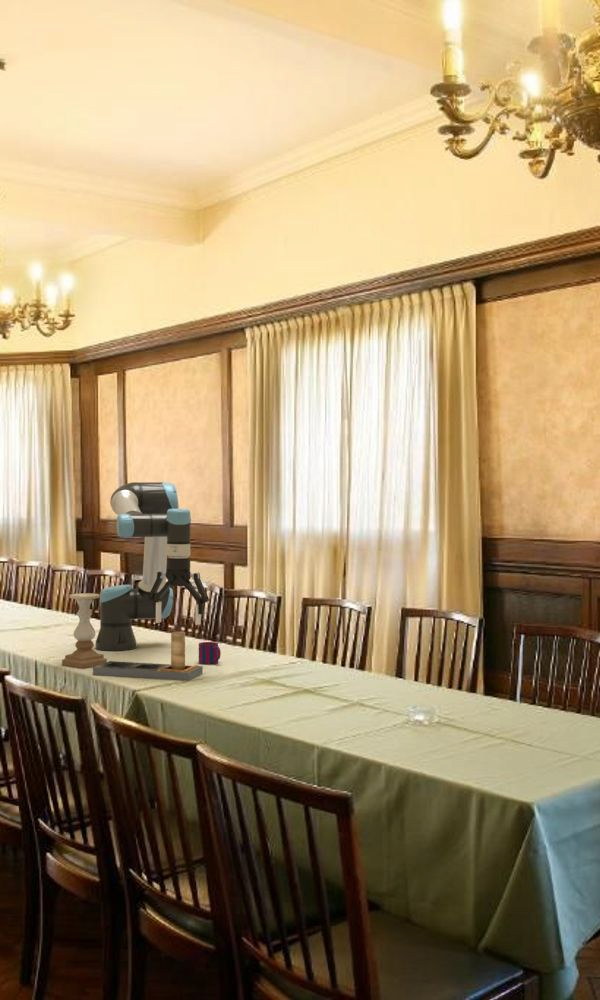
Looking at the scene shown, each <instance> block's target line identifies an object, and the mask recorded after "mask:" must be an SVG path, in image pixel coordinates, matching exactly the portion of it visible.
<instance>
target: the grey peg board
mask: <svg viewBox="0 0 600 1000" xmlns="http://www.w3.org/2000/svg"><path fill="white" fill-rule="evenodd" d="M203 668H204V667H203V665H202V666H201V665H199V664H195V665H187V664H185V670H176V669H171V663H169V664H165V663H153V662H152V663H151V662H135V661H134V662H133V661H115V660H109V661H107V662H106V663H103V664H100V665H98V666H95V667H92V675H93V676H101V677H102V676H107V677H121V678H122V677H123V678H137V679H152V678H153V680H171V681H184V680H187V682H188V681H191V680H194V679H196V678H197V677H200V676H201V674H202V675H203V673H204V672H203V670H204V669H203Z"/></svg>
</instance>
